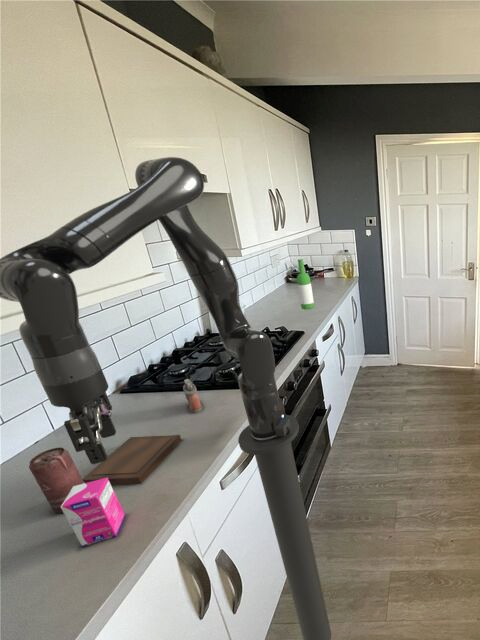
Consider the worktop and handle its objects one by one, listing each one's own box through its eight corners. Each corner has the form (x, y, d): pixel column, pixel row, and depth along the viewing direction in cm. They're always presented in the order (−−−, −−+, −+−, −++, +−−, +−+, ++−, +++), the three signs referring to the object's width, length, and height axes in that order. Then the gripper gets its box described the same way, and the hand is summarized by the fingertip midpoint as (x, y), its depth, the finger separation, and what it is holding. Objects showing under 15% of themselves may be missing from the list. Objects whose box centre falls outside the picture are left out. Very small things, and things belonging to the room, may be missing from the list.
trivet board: (181, 440, 101) (179, 434, 100) (141, 483, 86) (138, 476, 85) (132, 442, 101) (130, 436, 100) (83, 486, 86) (80, 479, 85)
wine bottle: (298, 308, 214) (290, 260, 203) (308, 305, 220) (301, 258, 209) (307, 310, 210) (299, 261, 199) (317, 307, 216) (310, 259, 205)
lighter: (187, 404, 119) (179, 378, 115) (198, 400, 121) (190, 375, 117) (192, 414, 113) (183, 388, 109) (204, 410, 115) (195, 383, 112)
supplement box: (81, 548, 70) (58, 507, 66) (93, 525, 76) (72, 485, 71) (117, 537, 73) (96, 496, 69) (126, 515, 78) (108, 475, 74)
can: (76, 513, 79) (50, 464, 74) (46, 515, 78) (18, 466, 73) (97, 491, 84) (75, 445, 79) (70, 493, 84) (45, 447, 79)
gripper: (90, 384, 56) (124, 462, 62) (107, 352, 68) (135, 421, 74) (24, 398, 53) (67, 480, 59) (55, 363, 64) (88, 434, 70)
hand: (105, 447), depth 66 cm, fingers open, 8 cm apart
